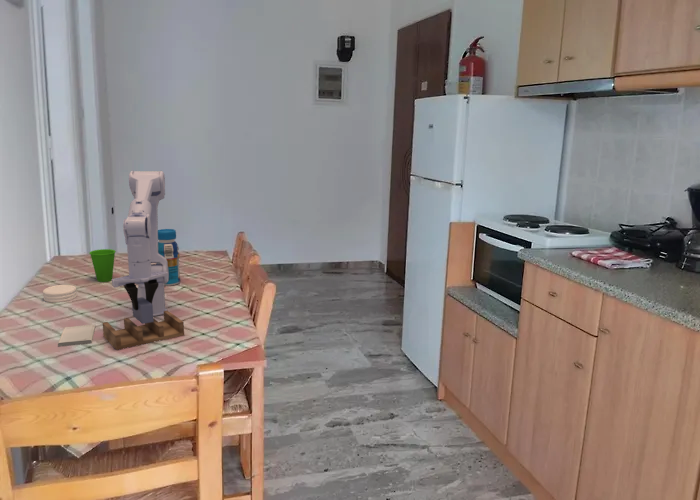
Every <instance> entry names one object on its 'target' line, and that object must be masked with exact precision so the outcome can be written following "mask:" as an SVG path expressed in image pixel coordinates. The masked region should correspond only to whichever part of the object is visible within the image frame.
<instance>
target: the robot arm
mask: <svg viewBox="0 0 700 500" xmlns="http://www.w3.org/2000/svg"><path fill="white" fill-rule="evenodd" d="M165 176H166V175H165V172H164V171H162V170H160V171H158V170H157V171H155V170H154V171H152V170H149V171H148V170H146V171H145V170H143V171H142V170H140V171H139V170H136V171H135V170H131V171H130V172H129V174H128V186H129V189H130V192H131V194H132V197H133V200H132V201H130V204H129V209H128V214H127V216H126V217H127V218H124V219H123V223H122V227H123V228H122V229H123V234H124V241H125V245H126V248H127V250H126V251H127V262H128V263H127V264H128V275H125V276H121V277H116V278H115V277H114V278H112V280H111V286H112V287H113V288H118V287H122V286H123V288H124V290H125V291H126V292H127V294H128V296H129V298H130V300H131V305H133V309H135V310H138V299H137V298H140V297H143V298H145V299H146V300H147V301H149V302H150V303H151V304H153V317H156V316H160V315H162V316H163V315H164V311H167V310H168V311H169V312H170V313H171V311H170V310H169V309H167V308H166V295H165V294H166V293H165V292H166V291H165V286H164V284H166V283H167V282H168V278H169V272H168V262H167V260H166V258H165V257H163V256H162V255H160V254H159V253H158V241H159V240H158V230H159V225H158V224H159V222H158V221H159V220H158V219H159V217H158V216H159V215H158V210H159V209H158V207H159V204H160V203H159V202H160V201H161V200H164V199H165V196H166V177H165ZM156 263H161V264H156Z"/></svg>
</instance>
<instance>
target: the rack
mask: <svg viewBox="0 0 700 500" xmlns="http://www.w3.org/2000/svg"><path fill="white" fill-rule="evenodd" d="M168 310H169V309H167V311H164V314H163V320H162V321H158V320H156V319H155V318H154V317H153V321H154V322H150V323H145V324H142V325H137V324H135V322H134V321H132V319H130V318H129V317H126V318H123V325H124V327H123V328H121V329H117V330H116V329H115V328H114V327H113V326H112V325H111V324H110V323H109V322H108V321H105V322H102V333H103V334H102V336H103V338H105V340H106V342H108V343H109V344H110V345H111V346H112V348H114V349H115V350H116V351H120V350H123V348H124V349H128V348H127V347H129V348H132V346H134V347H137V346H136V345H138V346H142V345H141V344H143V345H146V343H147V344H150V342H152V343H155V342H154V341H156V342H160V341H159V340H161V341H164V340H163V339H165V340H169V338H170V339H173V338H174V339H175V338H178V337H183V336H185V326H184V322H185V321H183V320H181V319H180V318H178V316H176V315H175V314H173V313H172V312H171V311H170V310H169V311H170V312H169V311H168ZM119 349H120V350H119Z"/></svg>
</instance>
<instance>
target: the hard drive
mask: <svg viewBox="0 0 700 500" xmlns="http://www.w3.org/2000/svg"><path fill="white" fill-rule="evenodd" d="M95 330H96V325H95V324H87V325H86V324H85V325H75V326H65V327H63V329H62V332H61V334H60V337H59V340H58V342H57V347H59V348H60V347H68V346H69V347H70V346H78V345H80V344H81V345H91V344H93V340H94V337H95Z"/></svg>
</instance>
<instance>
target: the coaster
mask: <svg viewBox="0 0 700 500" xmlns="http://www.w3.org/2000/svg"><path fill="white" fill-rule="evenodd" d="M42 295H43V296H42V297H43V302H47V303H64V302H69V301H72V300H74V299H77V295H78V294H77V287H76V286H74V285H72V284H58V285H53V286H52V285H51V286H48V287H46V288H44V289H43V290H42Z"/></svg>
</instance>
